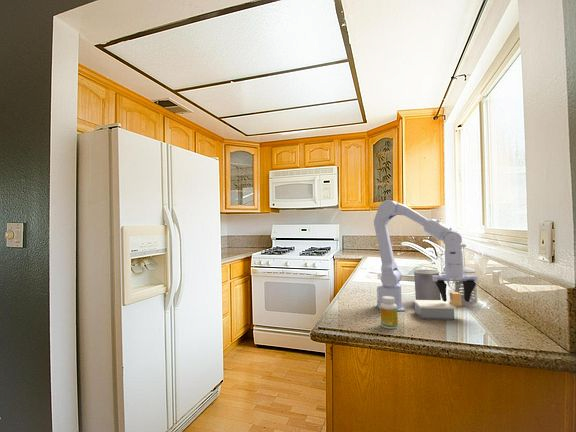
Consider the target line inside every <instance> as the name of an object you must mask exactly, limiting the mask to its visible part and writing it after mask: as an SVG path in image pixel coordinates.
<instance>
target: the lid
mask: <svg viewBox="0 0 576 432" xmlns="http://www.w3.org/2000/svg"><path fill="white" fill-rule="evenodd" d="M461 295H462V294H460V293H458V292H455V291H449V301H448V300H446V302H444V301H443V300H442V299H441V300H416V299H413V303H414V304H415V303H416V304H417V305H418V306H419V307H420V308H434V309H454V310H455V309H456V308H458V307H459V308H460V307H463V305H462V301H461Z"/></svg>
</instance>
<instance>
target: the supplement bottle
mask: <svg viewBox="0 0 576 432" xmlns="http://www.w3.org/2000/svg"><path fill="white" fill-rule="evenodd" d="M382 301H383V303H381V305H380V309H381V310H380V309H379V310H380V325H381V327H382V328H385V329H387V330H388V329H389V330H390V329H391V330H392V329H398V327H399V323H398V322H399V319H398V318H399V316H398V311H397V305H396V304H395V303H394V302H395V298H394V297H392V296H383V297H382Z"/></svg>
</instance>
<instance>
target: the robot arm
mask: <svg viewBox="0 0 576 432" xmlns="http://www.w3.org/2000/svg"><path fill="white" fill-rule="evenodd" d="M376 210H377V211H376V214H375V216H374V219H373V225H374V230H375V235H376V240H377V244H378V245H377V246H378V250H379V256H380V260H381V268H380V270H381V274H380V275H381V276H380V282H381V284H382V285H380V286H376V299H377V301H376V302H377V303H376V305H377V307H378V309H379V311H381V309H380V305H381V303H383V301H382V297H383V296H392V297H394V298H395V302H394V303H395V304H396V305H397V312H398V311H399V312H405V311H406V310H405V308H404V306H403V301H402V300H403V299H402V285H401V283H400V281H401V280H402V273H401V272H400V270H399V268H398V265H397V263H396V261H395V257H394V256H395V255H394V252H393V248H392V247H393V246H392V243H391V242H392V241H391V237H390V233H389V228H388V223H389V222H390V221H391V219H393V218H394V217H396V216H403V217H404V216H405V218H408V219H409V220H412V221H413V222H415V223H417V224H419V225H421V226H422V227H423V230H424V232H426V233H427V234H428V235H431V236H432V237H434V238H435V239H437V240H439V241H442V243H443V244H444V267H445V269H444V270H445V273H444V274H439V275H432V276H433V281H435V283H436V285H437V286H438V288H439V291H440V297H441V300H443V301H444V302H446V301H448V300H447V286H448V283H446V282H447V281H449V282H458V281H462V282H463V284H462V285H463V286H464V288H463V289H464V291H463V292H464V299H465V301H467V302H469V300H470V296H471V295H472V294H471V293H472V292H474V291H473V289H474V287H475V286H476V287H477V282H478V276H477V275H475V274H474V275H470V274H469V275H468V274H464V273H463V266H464V254H463V247H462V246H461V245H462V243H463V238H462V235H461V233H460V232H458V231H457V230H454V229H453V227H452V226H448V225H445V224H443V223H442V222H441V220H440V219H438V218H436V219H435V218H430V219H428V218H426V217H425V216H423V215H421V214H420V213H418V211H415V210H414V209H412V208H410V207H409V206H407V205H405V204H403V203H399V202H398V201H395V200H391V199H386V200H383V201H382V202H381V203H380V204H379V205H378V206H377V209H376Z"/></svg>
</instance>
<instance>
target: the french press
mask: <svg viewBox="0 0 576 432" xmlns="http://www.w3.org/2000/svg"><path fill="white" fill-rule="evenodd" d="M460 245H461V246H462V252H465V247H467V245H466V244H464V243H461V244H460ZM465 260H466V259H463V274H475V273H476V272H477V270H475V269H474V268H472V267H470V266H466V265H465V264H466V263H465ZM446 282H447V283H446V284H447V286H448V287H449V288H450V289H451V290H453V292H458V293H460V294H461V301H462V307H464V306H465V307H478V306H481V303H480V302H479V301H478V293H477V292H478V291H477V285H476V286H475V287H474V289H473V291H472V293H471V296H470V300H469V302H467V301H465V299H464V286H463V282H462V281H455V282H454V287H455V288H453V287H452V286H451V284H450V281H446Z"/></svg>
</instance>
